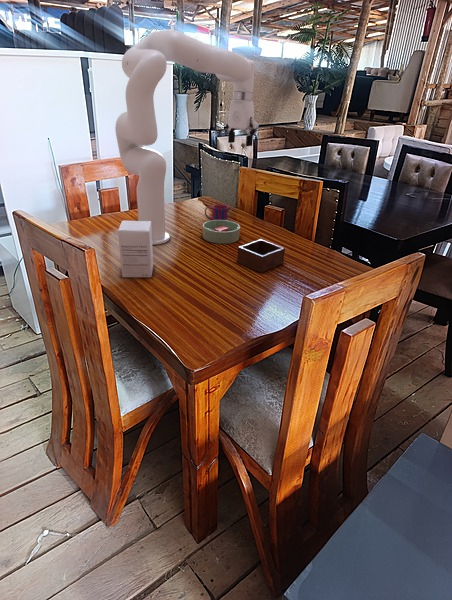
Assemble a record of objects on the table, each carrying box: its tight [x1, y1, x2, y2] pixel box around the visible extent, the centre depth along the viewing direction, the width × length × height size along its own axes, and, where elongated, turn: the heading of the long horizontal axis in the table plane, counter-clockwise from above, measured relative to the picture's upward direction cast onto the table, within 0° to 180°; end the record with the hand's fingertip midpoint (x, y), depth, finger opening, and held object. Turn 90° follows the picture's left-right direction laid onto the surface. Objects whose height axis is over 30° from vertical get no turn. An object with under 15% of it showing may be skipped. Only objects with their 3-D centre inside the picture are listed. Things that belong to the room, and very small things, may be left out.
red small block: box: [214, 226, 229, 232], centre depth 153 cm, size 5×3×3 cm
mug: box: [204, 204, 230, 221], centre depth 168 cm, size 7×10×7 cm
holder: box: [236, 238, 286, 274], centre depth 133 cm, size 12×11×6 cm
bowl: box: [201, 219, 241, 245], centre depth 153 cm, size 14×14×4 cm
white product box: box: [117, 220, 154, 278], centre depth 120 cm, size 9×9×15 cm
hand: (240, 144), depth 161 cm, fingers open, 9 cm apart
